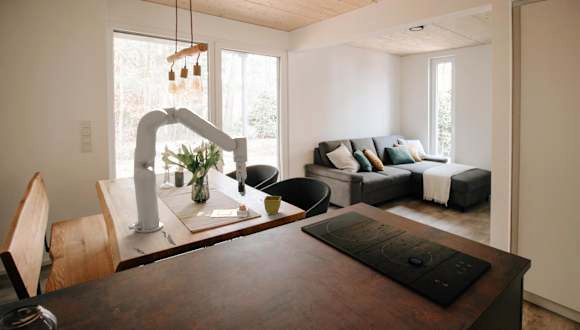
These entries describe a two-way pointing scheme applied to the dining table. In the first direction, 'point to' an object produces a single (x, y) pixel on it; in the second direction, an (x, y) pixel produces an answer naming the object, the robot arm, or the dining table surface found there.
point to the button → (242, 207)
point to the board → (230, 213)
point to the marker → (244, 189)
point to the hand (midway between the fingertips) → (241, 190)
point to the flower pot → (272, 204)
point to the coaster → (204, 214)
